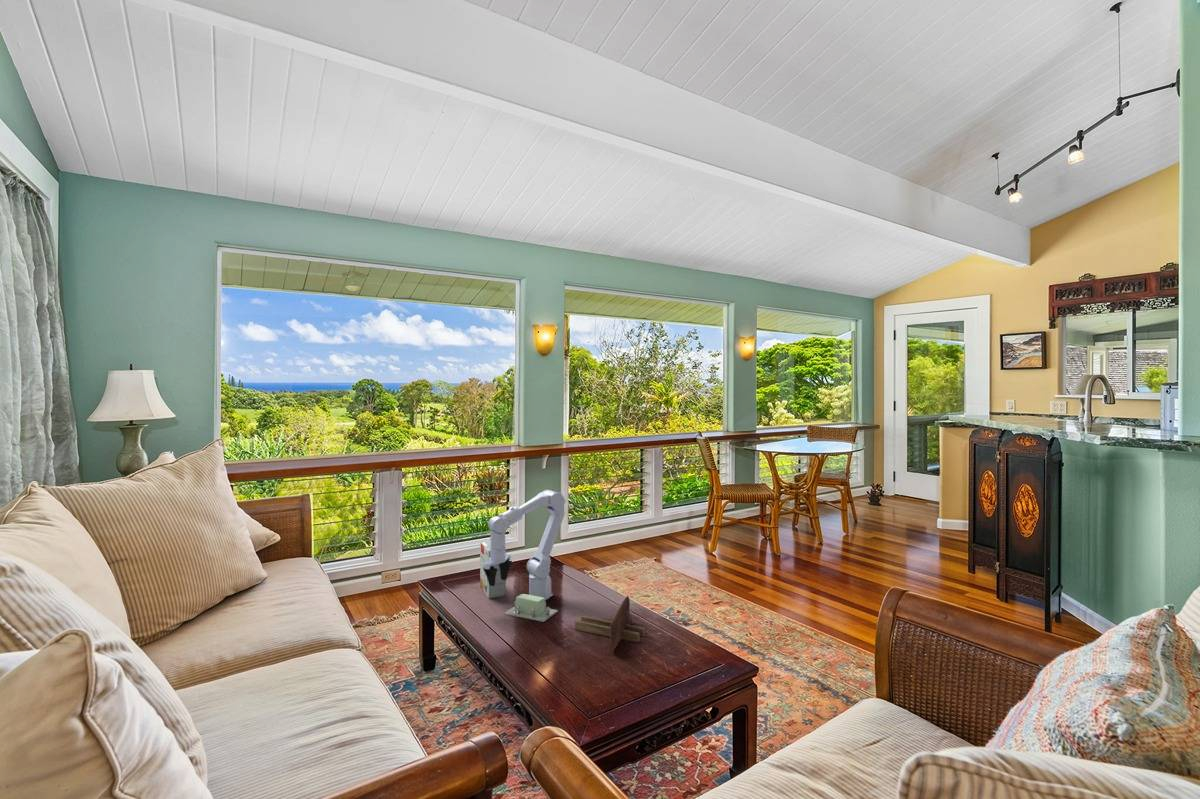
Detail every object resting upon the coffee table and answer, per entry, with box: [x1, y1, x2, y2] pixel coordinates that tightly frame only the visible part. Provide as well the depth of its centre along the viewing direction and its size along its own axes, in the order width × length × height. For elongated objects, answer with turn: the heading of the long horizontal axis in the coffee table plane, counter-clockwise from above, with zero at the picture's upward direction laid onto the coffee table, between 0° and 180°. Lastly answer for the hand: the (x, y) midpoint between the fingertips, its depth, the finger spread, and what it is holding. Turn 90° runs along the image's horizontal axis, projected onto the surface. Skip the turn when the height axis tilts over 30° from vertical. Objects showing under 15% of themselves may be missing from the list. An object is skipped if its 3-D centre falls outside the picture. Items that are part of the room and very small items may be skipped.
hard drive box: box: [479, 540, 507, 599], centre depth 233 cm, size 16×8×20 cm, turn 25°
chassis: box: [505, 600, 559, 623], centre depth 209 cm, size 17×10×4 cm, turn 64°
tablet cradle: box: [574, 615, 645, 643], centre depth 192 cm, size 6×24×3 cm, turn 64°
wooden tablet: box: [609, 595, 633, 652], centre depth 189 cm, size 26×2×10 cm, turn 165°
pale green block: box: [515, 593, 546, 615], centre depth 210 cm, size 10×4×5 cm, turn 64°
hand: (497, 582), depth 215 cm, fingers open, 7 cm apart
